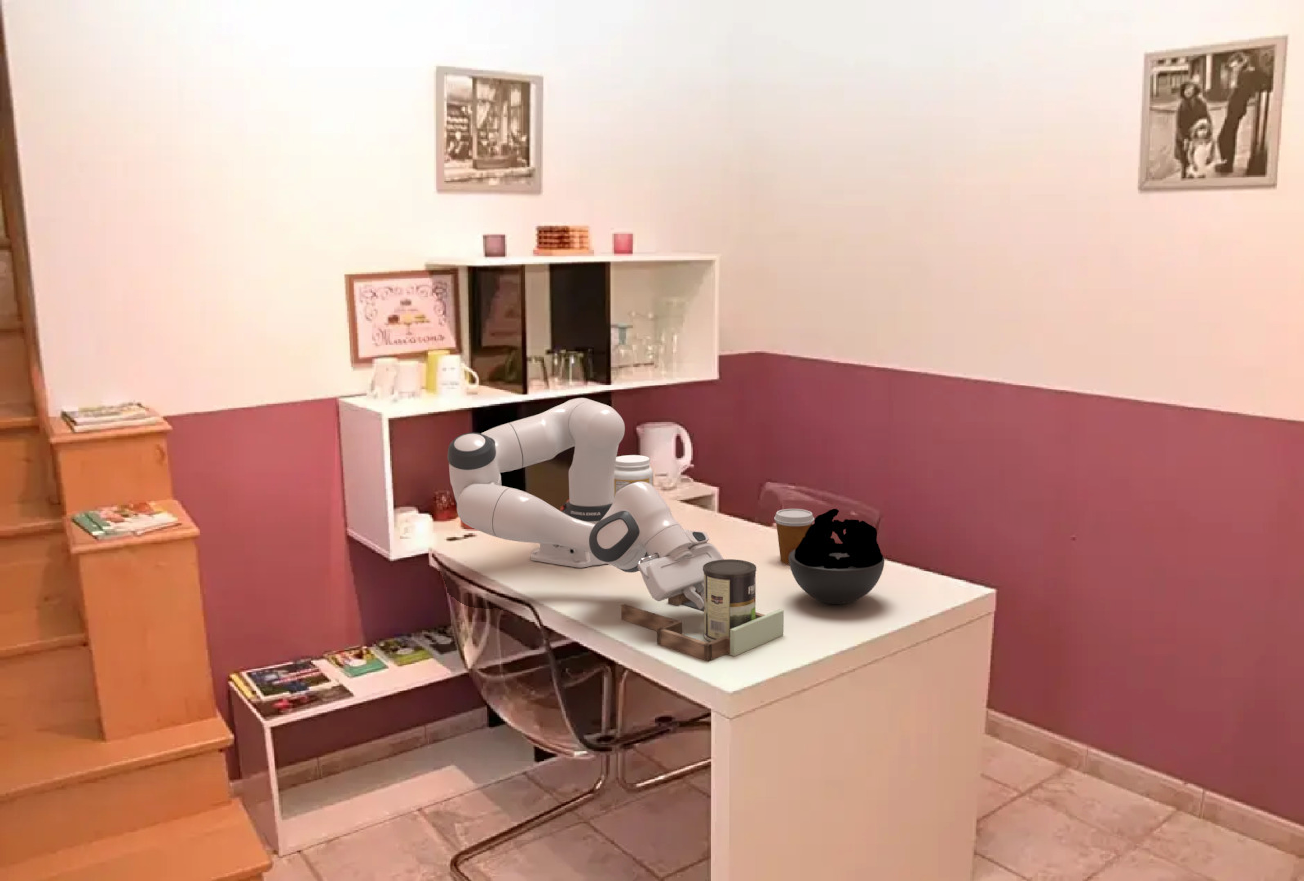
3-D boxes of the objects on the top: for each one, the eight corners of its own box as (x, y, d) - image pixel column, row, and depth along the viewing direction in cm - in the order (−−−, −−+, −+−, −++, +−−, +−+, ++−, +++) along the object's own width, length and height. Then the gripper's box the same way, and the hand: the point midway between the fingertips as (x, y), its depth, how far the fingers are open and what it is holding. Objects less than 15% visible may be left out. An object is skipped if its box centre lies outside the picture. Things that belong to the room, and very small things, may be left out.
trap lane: (603, 625, 212) (603, 611, 212) (686, 595, 230) (686, 582, 229) (712, 662, 192) (712, 647, 192) (794, 627, 210) (794, 612, 209)
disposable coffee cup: (793, 569, 248) (793, 520, 246) (765, 560, 255) (766, 512, 253) (822, 562, 253) (822, 513, 251) (794, 553, 261) (795, 506, 259)
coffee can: (757, 627, 210) (757, 559, 207) (754, 646, 200) (755, 575, 197) (705, 625, 211) (705, 557, 209) (700, 644, 201) (700, 573, 199)
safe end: (730, 655, 196) (730, 629, 195) (779, 633, 206) (779, 609, 206) (734, 656, 195) (734, 630, 194) (783, 634, 206) (783, 610, 205)
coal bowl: (866, 623, 211) (868, 532, 208) (773, 608, 221) (774, 521, 218) (895, 595, 229) (897, 510, 225) (808, 582, 238) (809, 501, 235)
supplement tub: (622, 510, 307) (620, 452, 304) (660, 513, 303) (659, 455, 300) (604, 520, 296) (602, 460, 293) (643, 523, 291) (642, 463, 288)
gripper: (641, 551, 204) (679, 610, 199) (711, 530, 219) (747, 585, 214) (626, 568, 208) (662, 627, 203) (695, 547, 222) (730, 602, 217)
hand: (706, 606), depth 208 cm, fingers closed, pressing on coffee can
